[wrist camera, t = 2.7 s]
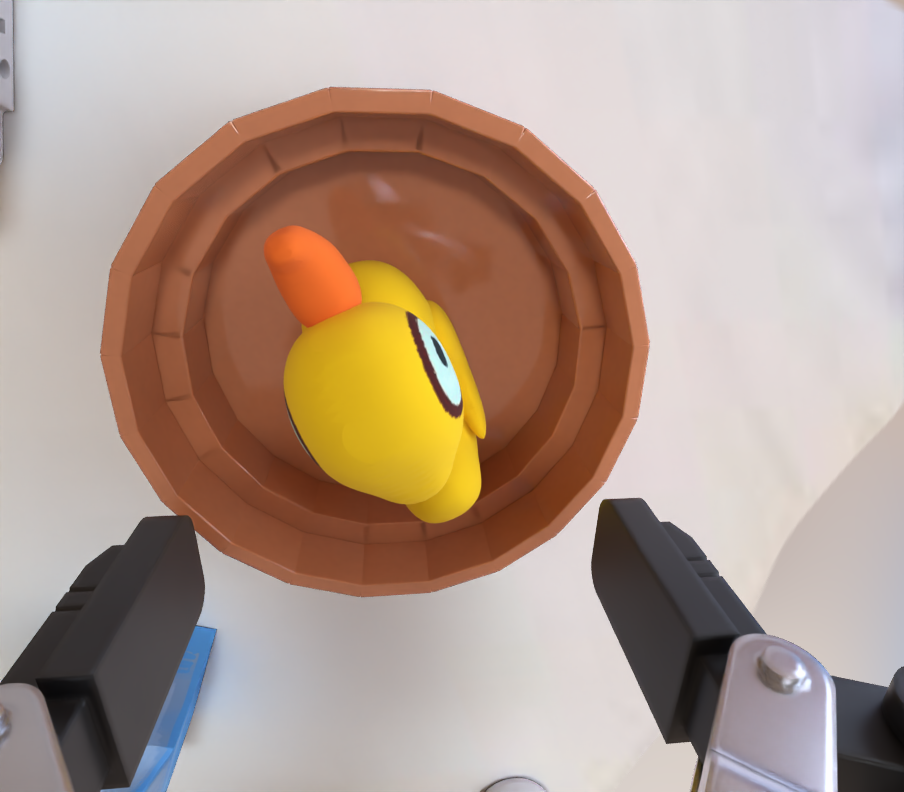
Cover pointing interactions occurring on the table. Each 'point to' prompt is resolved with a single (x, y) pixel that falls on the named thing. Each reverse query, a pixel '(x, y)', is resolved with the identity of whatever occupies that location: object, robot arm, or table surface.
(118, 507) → the table surface
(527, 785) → the beverage can
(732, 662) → the robot arm
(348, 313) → the duckling
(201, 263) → the bowl
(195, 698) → the perfume bottle
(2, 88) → the cassette
